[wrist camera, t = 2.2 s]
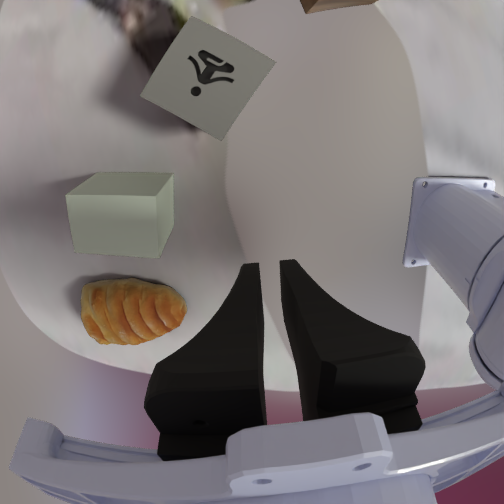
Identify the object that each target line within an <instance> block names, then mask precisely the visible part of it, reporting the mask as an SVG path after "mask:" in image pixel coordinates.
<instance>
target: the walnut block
mask: <svg viewBox="0 0 504 504" xmlns="http://www.w3.org/2000/svg"><path fill="white" fill-rule="evenodd" d="M376 1H378V0H300V2H301V4H302V7H303V9H304V11H305V13H306V14H309V13H315V12H320V11H325V10H331V9H337V8H343V7H351V6H359V5H369V4H372V3H374V2H376Z"/></svg>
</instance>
